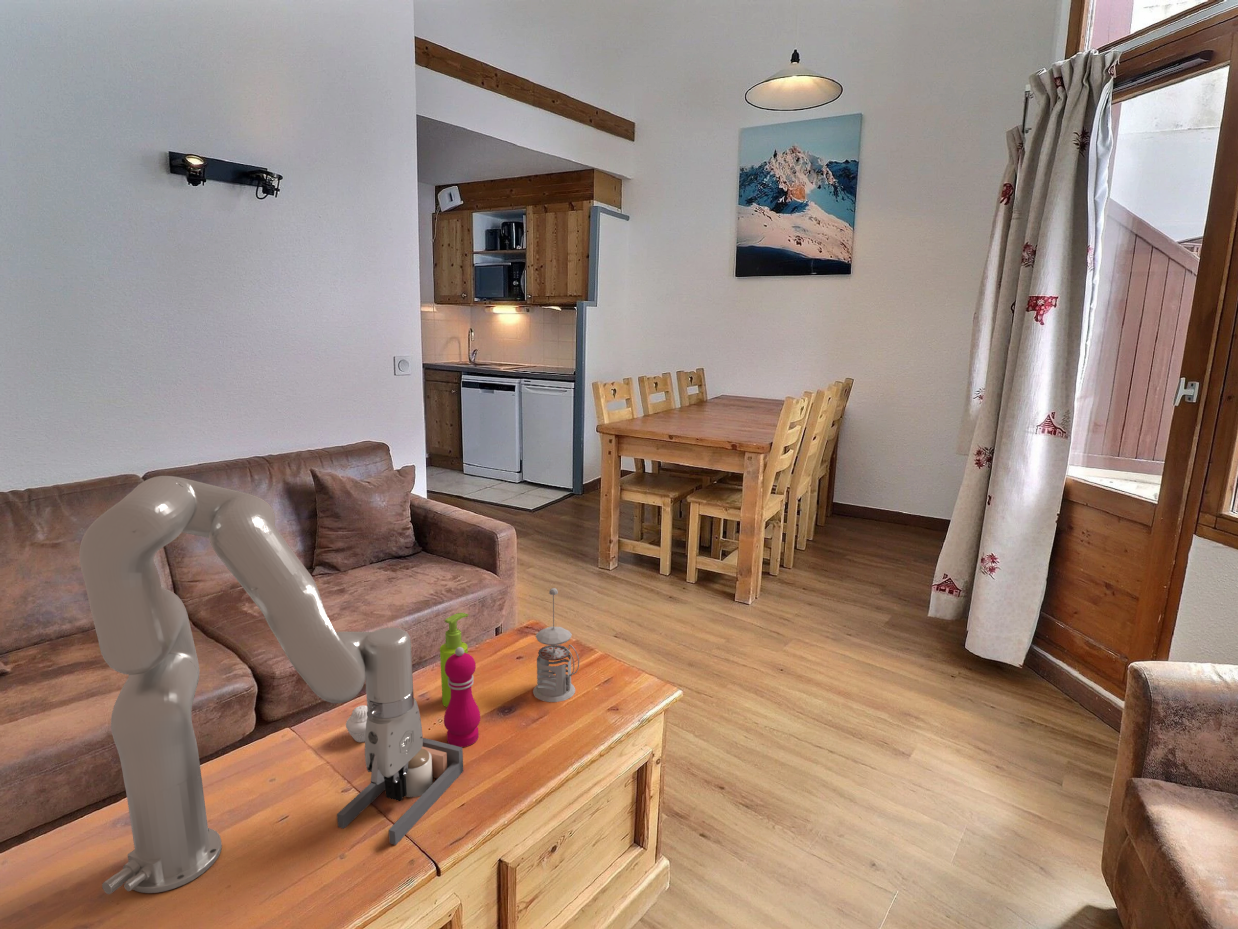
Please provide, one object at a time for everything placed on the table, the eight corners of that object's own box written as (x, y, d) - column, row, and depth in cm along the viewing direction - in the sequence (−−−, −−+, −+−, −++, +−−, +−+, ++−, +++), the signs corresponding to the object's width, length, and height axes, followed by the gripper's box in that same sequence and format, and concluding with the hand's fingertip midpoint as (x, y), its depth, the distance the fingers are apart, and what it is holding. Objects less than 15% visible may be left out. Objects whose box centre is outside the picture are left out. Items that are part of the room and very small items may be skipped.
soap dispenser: (478, 697, 155) (475, 614, 151) (455, 711, 150) (452, 625, 146) (459, 689, 159) (456, 608, 154) (436, 703, 153) (432, 619, 149)
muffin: (346, 749, 136) (343, 717, 135) (347, 732, 142) (345, 701, 140) (379, 743, 138) (377, 712, 137) (379, 726, 144) (377, 696, 142)
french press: (552, 675, 165) (551, 577, 160) (590, 691, 159) (590, 588, 154) (523, 692, 158) (522, 590, 152) (562, 709, 151) (562, 602, 146)
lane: (395, 845, 111) (394, 818, 110) (338, 827, 115) (335, 800, 114) (463, 771, 130) (462, 747, 129) (411, 757, 134) (410, 734, 133)
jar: (419, 800, 122) (418, 770, 121) (391, 792, 124) (389, 763, 123) (439, 779, 127) (438, 750, 126) (411, 772, 129) (410, 744, 128)
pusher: (444, 780, 127) (442, 756, 126) (407, 770, 130) (406, 747, 129) (447, 776, 128) (446, 752, 127) (411, 767, 131) (410, 743, 130)
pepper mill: (472, 751, 136) (469, 658, 132) (438, 746, 137) (434, 654, 133) (486, 730, 143) (483, 641, 139) (454, 726, 144) (450, 637, 140)
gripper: (379, 730, 108) (386, 831, 112) (435, 684, 122) (439, 776, 126) (341, 720, 111) (348, 819, 115) (400, 676, 125) (405, 766, 128)
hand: (396, 796), depth 120 cm, fingers closed
